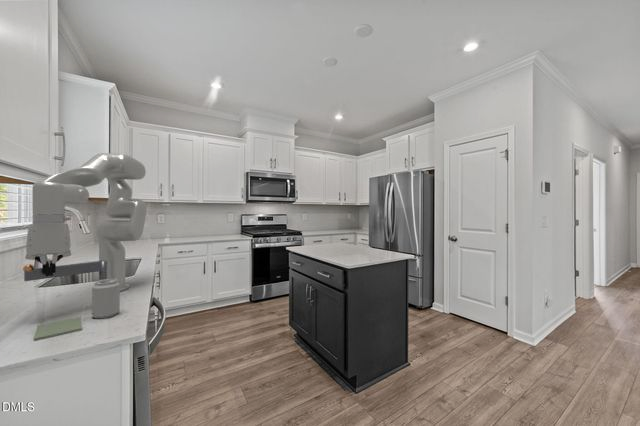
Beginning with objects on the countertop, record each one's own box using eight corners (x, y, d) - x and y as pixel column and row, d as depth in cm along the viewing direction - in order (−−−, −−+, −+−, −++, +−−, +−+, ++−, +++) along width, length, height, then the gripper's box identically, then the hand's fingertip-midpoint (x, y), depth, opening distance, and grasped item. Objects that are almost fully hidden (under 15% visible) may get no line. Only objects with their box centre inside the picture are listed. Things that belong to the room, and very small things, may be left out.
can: (113, 309, 98) (113, 276, 98) (123, 313, 94) (123, 279, 94) (88, 316, 91) (88, 281, 91) (97, 321, 88) (97, 284, 88)
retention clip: (106, 301, 103) (106, 256, 103) (108, 302, 102) (107, 256, 101) (22, 318, 87) (22, 264, 87) (23, 320, 85) (23, 265, 85)
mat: (37, 327, 83) (37, 325, 83) (80, 318, 90) (80, 316, 90) (33, 340, 74) (33, 338, 74) (81, 330, 81) (82, 328, 81)
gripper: (79, 219, 96) (79, 270, 96) (16, 220, 86) (16, 277, 86) (80, 219, 91) (80, 274, 91) (13, 220, 81) (13, 281, 81)
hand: (49, 275), depth 88 cm, fingers closed
